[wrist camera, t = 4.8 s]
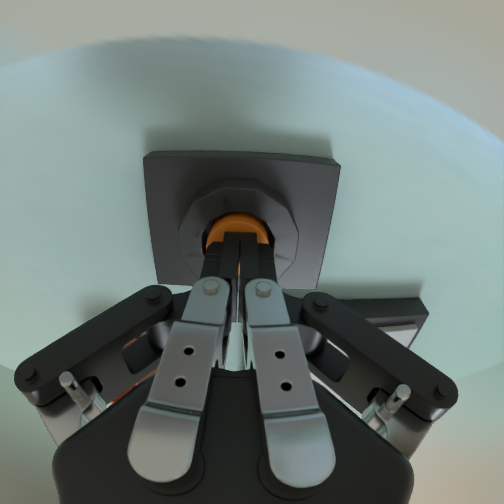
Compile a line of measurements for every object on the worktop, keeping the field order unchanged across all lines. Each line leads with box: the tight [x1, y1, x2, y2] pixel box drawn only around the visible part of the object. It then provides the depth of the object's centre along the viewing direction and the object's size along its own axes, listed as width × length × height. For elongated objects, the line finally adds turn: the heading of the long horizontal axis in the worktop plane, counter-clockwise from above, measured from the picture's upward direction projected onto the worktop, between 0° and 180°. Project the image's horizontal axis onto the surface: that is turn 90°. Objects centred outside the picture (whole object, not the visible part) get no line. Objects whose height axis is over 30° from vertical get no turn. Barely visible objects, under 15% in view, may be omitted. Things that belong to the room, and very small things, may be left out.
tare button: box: [206, 212, 269, 275], centre depth 14 cm, size 3×3×2 cm
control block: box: [143, 151, 341, 292], centre depth 15 cm, size 10×8×3 cm
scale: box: [310, 298, 429, 399], centre depth 22 cm, size 14×12×3 cm
